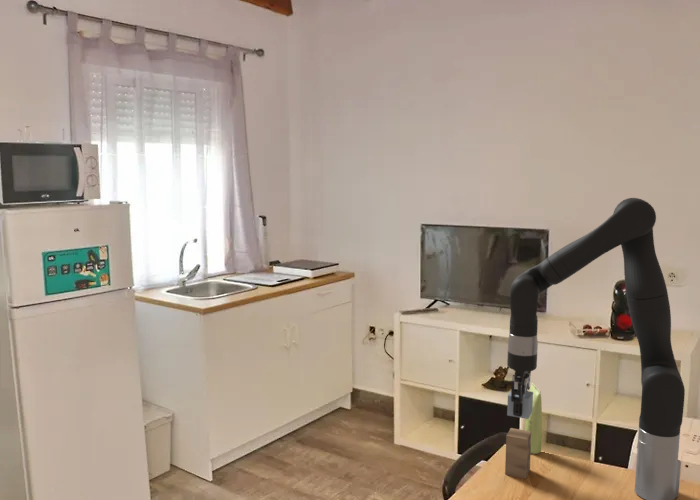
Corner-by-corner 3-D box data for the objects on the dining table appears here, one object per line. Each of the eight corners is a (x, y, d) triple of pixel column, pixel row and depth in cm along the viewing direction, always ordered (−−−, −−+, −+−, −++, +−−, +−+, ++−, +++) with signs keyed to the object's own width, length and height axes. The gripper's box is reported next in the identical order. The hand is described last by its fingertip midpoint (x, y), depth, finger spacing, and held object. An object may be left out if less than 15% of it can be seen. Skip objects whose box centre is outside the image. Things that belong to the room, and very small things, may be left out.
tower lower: (509, 465, 174) (510, 446, 173) (529, 470, 171) (530, 450, 171) (505, 474, 169) (505, 455, 168) (525, 479, 167) (526, 459, 166)
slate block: (511, 408, 172) (512, 388, 171) (532, 411, 169) (533, 392, 168) (507, 415, 167) (507, 395, 166) (528, 419, 164) (529, 398, 164)
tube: (546, 451, 183) (549, 386, 180) (537, 456, 179) (540, 391, 176) (529, 444, 187) (531, 381, 184) (519, 450, 183) (522, 385, 180)
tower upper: (510, 446, 173) (510, 427, 172) (530, 450, 171) (531, 431, 170) (505, 455, 168) (506, 435, 168) (526, 459, 166) (527, 439, 165)
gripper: (531, 359, 157) (529, 424, 160) (542, 345, 170) (539, 404, 173) (501, 355, 161) (499, 418, 163) (513, 341, 174) (511, 400, 176)
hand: (519, 411), depth 168 cm, fingers closed on slate block, 5 cm apart
